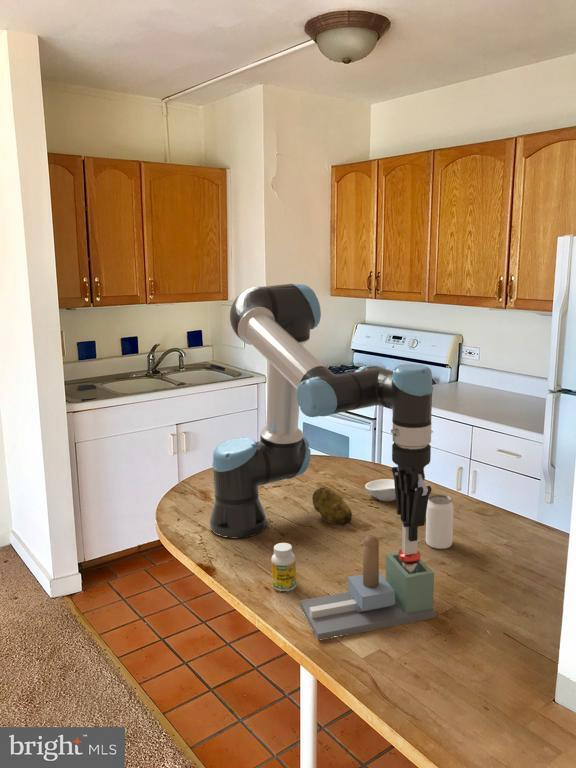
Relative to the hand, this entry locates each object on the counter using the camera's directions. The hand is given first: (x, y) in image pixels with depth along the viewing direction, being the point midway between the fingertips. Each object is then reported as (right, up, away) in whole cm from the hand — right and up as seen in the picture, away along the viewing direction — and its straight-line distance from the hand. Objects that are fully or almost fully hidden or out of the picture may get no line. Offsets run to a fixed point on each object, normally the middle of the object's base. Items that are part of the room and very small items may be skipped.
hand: (409, 552), depth 130 cm
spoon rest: (+6, 0, +53) cm, 53 cm away
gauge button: (0, -9, +2) cm, 9 cm away
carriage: (-8, -11, 0) cm, 13 cm away
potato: (-13, -3, +44) cm, 46 cm away
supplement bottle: (-26, -11, +11) cm, 30 cm away
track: (-9, -12, 0) cm, 15 cm away
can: (+13, -6, +28) cm, 32 cm away
